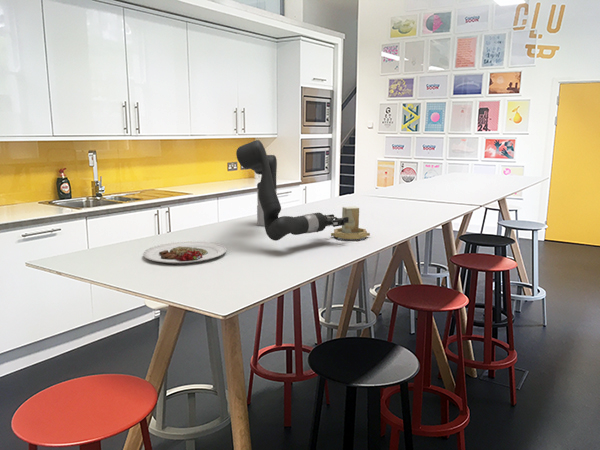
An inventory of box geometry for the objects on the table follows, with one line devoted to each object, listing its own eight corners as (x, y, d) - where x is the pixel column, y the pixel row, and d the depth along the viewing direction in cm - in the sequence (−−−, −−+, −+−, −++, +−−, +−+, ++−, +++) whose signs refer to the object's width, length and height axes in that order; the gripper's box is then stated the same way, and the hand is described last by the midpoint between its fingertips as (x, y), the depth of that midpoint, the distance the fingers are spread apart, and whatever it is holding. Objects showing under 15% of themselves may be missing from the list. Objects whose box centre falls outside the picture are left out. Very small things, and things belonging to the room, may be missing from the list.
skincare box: (345, 237, 212) (345, 208, 210) (341, 235, 216) (341, 206, 214) (359, 236, 214) (359, 207, 212) (354, 234, 218) (355, 206, 216)
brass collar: (332, 239, 209) (332, 233, 208) (330, 232, 222) (330, 227, 221) (371, 238, 209) (371, 233, 208) (367, 232, 222) (367, 227, 221)
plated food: (192, 242, 208) (191, 234, 208) (243, 254, 190) (242, 245, 189) (127, 257, 186) (126, 248, 185) (177, 272, 167) (177, 262, 166)
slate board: (338, 240, 210) (338, 238, 210) (336, 234, 221) (336, 232, 220) (364, 240, 210) (364, 238, 210) (361, 234, 221) (361, 232, 221)
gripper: (324, 216, 193) (353, 211, 204) (299, 211, 204) (328, 207, 214) (323, 235, 195) (353, 229, 205) (299, 229, 205) (328, 224, 216)
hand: (340, 218), depth 210 cm, fingers open, 8 cm apart
